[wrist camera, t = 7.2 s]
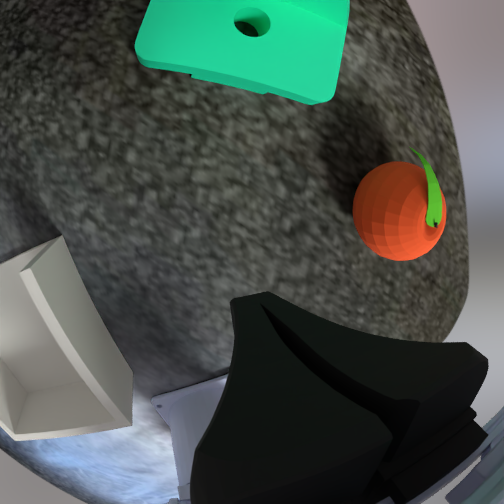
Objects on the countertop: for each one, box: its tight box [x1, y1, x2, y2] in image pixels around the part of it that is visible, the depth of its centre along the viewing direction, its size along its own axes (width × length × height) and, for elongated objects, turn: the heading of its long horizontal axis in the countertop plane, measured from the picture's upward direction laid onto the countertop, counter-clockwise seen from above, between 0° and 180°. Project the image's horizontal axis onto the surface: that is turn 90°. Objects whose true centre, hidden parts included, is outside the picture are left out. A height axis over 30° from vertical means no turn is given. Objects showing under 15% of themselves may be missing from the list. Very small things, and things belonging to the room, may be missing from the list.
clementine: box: [353, 147, 446, 261], centre depth 19 cm, size 8×7×7 cm
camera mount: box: [135, 0, 350, 105], centre depth 11 cm, size 12×8×10 cm, turn 77°
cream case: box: [0, 235, 133, 441], centre depth 15 cm, size 13×12×6 cm
